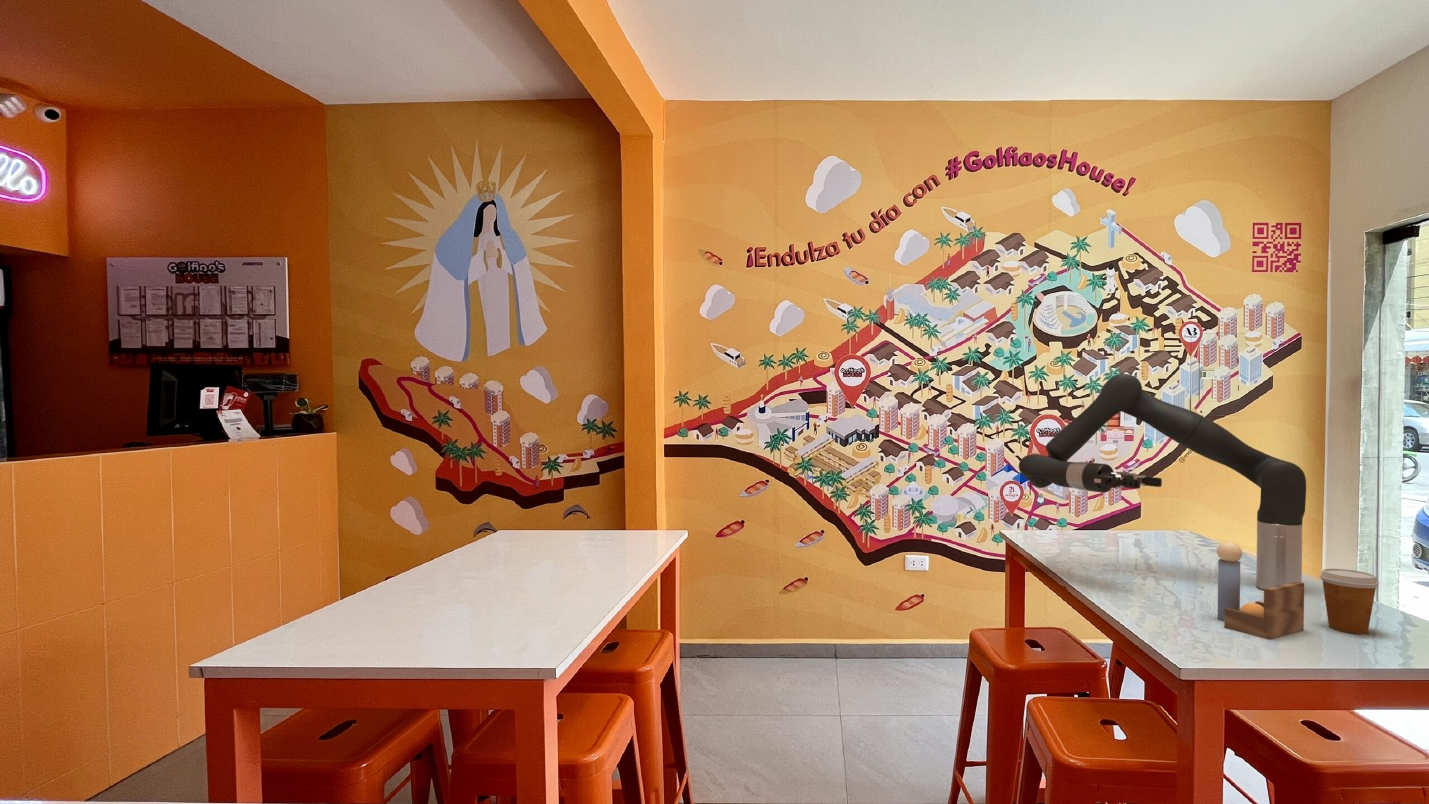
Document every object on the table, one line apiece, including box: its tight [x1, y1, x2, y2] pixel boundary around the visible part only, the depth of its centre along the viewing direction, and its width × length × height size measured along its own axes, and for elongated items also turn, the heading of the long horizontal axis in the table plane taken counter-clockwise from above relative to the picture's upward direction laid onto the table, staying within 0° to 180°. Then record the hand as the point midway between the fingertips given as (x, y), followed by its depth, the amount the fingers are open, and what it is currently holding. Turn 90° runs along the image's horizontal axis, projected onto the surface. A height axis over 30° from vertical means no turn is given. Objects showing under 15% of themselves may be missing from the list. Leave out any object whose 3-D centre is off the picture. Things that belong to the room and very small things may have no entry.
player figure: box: [1216, 541, 1243, 622], centre depth 161 cm, size 5×5×17 cm
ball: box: [1240, 602, 1264, 616], centre depth 156 cm, size 5×5×5 cm
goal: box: [1223, 582, 1305, 640], centre depth 155 cm, size 13×9×10 cm, turn 117°
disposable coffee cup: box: [1319, 567, 1380, 635], centre depth 155 cm, size 10×10×12 cm
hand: (1150, 483), depth 179 cm, fingers open, 8 cm apart
